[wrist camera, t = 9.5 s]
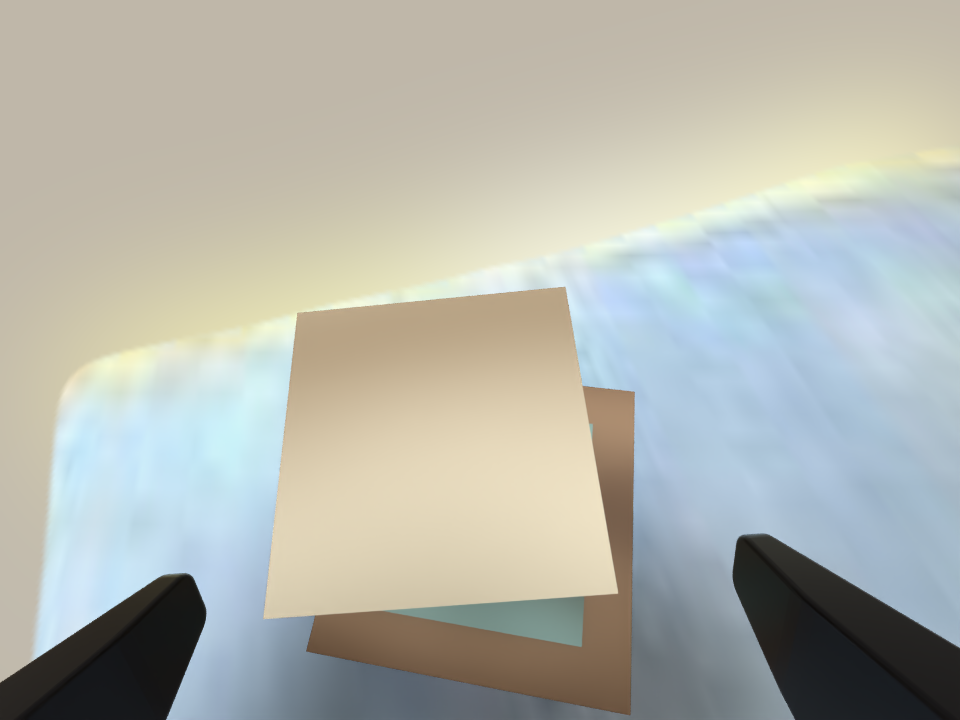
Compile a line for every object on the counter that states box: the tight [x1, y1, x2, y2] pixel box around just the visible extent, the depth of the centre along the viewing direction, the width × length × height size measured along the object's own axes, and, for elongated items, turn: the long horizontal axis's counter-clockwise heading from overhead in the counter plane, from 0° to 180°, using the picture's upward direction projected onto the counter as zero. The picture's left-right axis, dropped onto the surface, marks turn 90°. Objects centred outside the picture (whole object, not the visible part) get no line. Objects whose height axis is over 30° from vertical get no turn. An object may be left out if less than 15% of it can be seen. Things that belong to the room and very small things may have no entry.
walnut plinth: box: [306, 386, 635, 715], centre depth 17 cm, size 10×10×3 cm
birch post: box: [263, 287, 618, 619], centre depth 11 cm, size 4×4×10 cm
